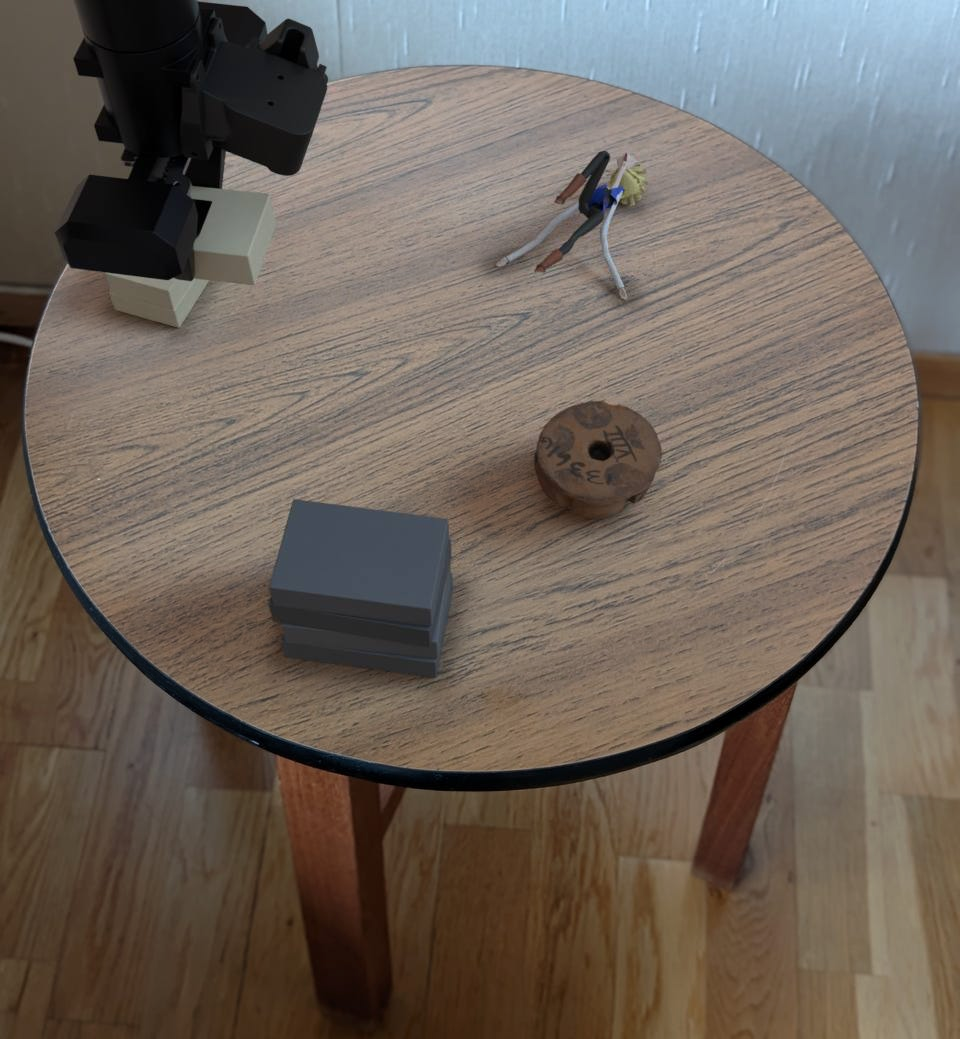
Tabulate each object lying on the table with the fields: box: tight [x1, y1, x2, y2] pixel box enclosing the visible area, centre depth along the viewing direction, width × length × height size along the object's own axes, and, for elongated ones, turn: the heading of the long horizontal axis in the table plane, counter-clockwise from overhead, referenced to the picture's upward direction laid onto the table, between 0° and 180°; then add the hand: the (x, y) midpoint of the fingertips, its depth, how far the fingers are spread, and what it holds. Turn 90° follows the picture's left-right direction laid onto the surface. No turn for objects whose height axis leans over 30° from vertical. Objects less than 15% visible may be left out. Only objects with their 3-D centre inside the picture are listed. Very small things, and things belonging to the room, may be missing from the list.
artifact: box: [533, 400, 663, 521], centre depth 82 cm, size 8×8×5 cm
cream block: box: [190, 186, 277, 286], centre depth 77 cm, size 8×5×2 cm, turn 80°
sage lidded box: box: [104, 272, 210, 329], centre depth 92 cm, size 7×5×4 cm
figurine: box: [495, 150, 673, 301], centre depth 93 cm, size 10×9×20 cm
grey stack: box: [268, 498, 454, 679], centre depth 76 cm, size 9×6×8 cm
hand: (197, 245), depth 78 cm, fingers closed on cream block, 5 cm apart
